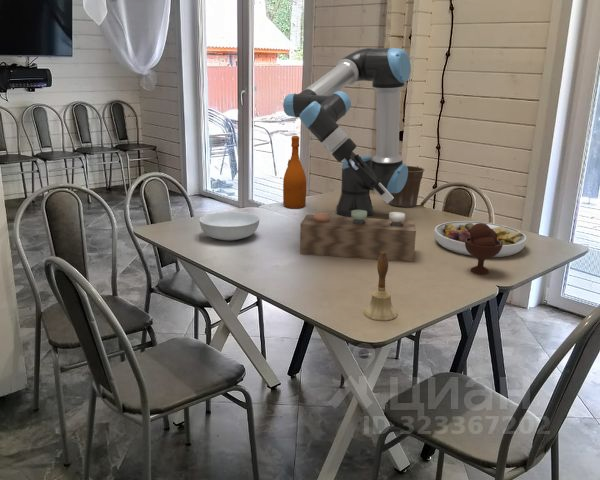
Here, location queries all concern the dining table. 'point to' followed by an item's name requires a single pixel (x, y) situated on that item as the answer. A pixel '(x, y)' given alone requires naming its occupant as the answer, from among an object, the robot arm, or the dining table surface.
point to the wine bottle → (294, 179)
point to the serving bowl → (229, 225)
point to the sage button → (359, 216)
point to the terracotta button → (321, 217)
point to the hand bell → (381, 296)
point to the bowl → (457, 231)
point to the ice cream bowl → (482, 246)
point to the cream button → (396, 218)
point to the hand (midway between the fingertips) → (390, 200)
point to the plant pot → (409, 189)
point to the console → (358, 238)
